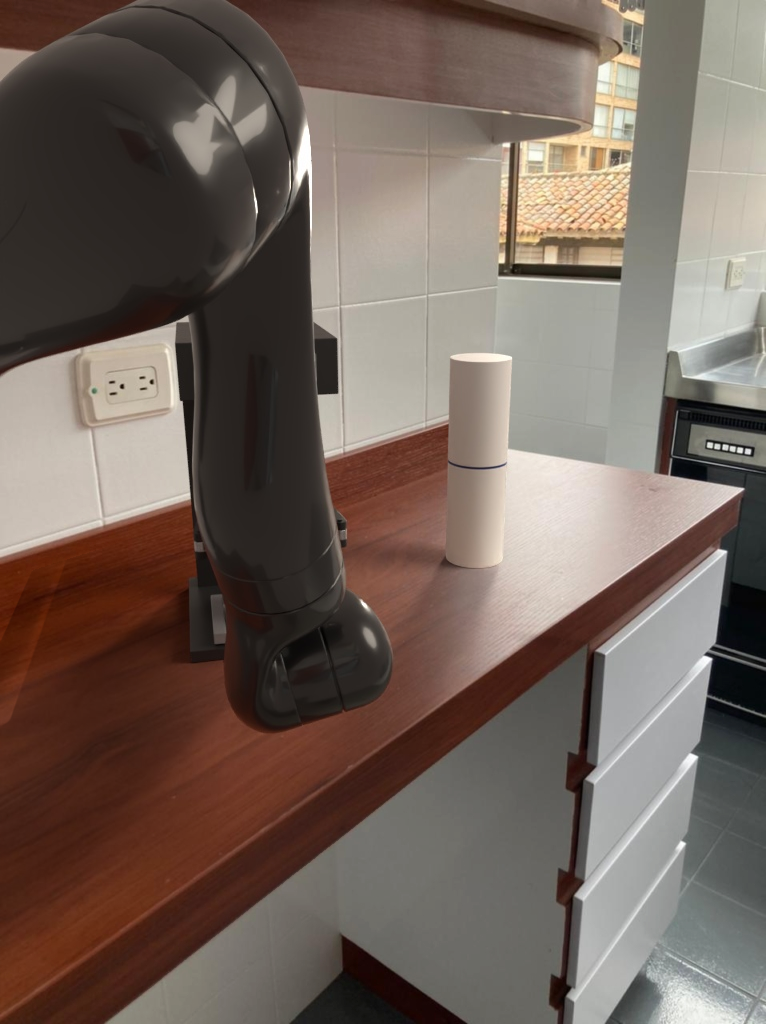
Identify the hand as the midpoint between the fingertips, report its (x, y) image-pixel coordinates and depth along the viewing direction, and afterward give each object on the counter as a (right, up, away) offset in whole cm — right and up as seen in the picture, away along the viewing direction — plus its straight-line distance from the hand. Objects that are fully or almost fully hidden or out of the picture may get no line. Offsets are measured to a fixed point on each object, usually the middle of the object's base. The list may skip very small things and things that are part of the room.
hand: (262, 506), depth 82 cm
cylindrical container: (+24, -6, +21) cm, 32 cm away
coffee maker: (0, -12, +6) cm, 13 cm away
